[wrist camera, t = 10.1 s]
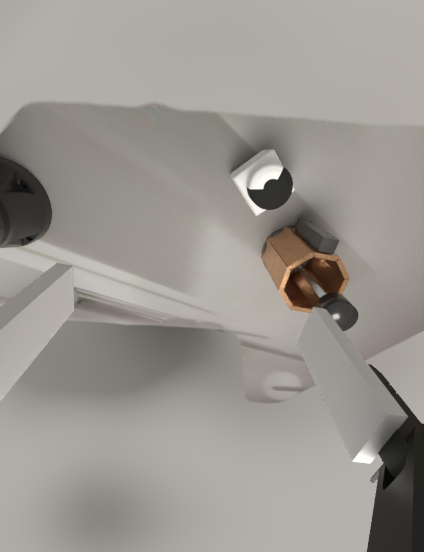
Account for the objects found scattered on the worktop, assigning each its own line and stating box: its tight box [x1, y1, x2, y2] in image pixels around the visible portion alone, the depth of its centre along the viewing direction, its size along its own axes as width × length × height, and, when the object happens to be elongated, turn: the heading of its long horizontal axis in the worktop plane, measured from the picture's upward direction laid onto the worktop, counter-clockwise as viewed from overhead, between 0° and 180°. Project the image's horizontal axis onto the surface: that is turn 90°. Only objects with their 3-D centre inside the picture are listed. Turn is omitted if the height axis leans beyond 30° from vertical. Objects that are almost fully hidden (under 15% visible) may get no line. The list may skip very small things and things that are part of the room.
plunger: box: [290, 260, 358, 331], centre depth 41 cm, size 8×8×22 cm
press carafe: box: [261, 219, 349, 313], centre depth 45 cm, size 10×12×14 cm
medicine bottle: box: [230, 149, 295, 215], centre depth 41 cm, size 7×7×12 cm
